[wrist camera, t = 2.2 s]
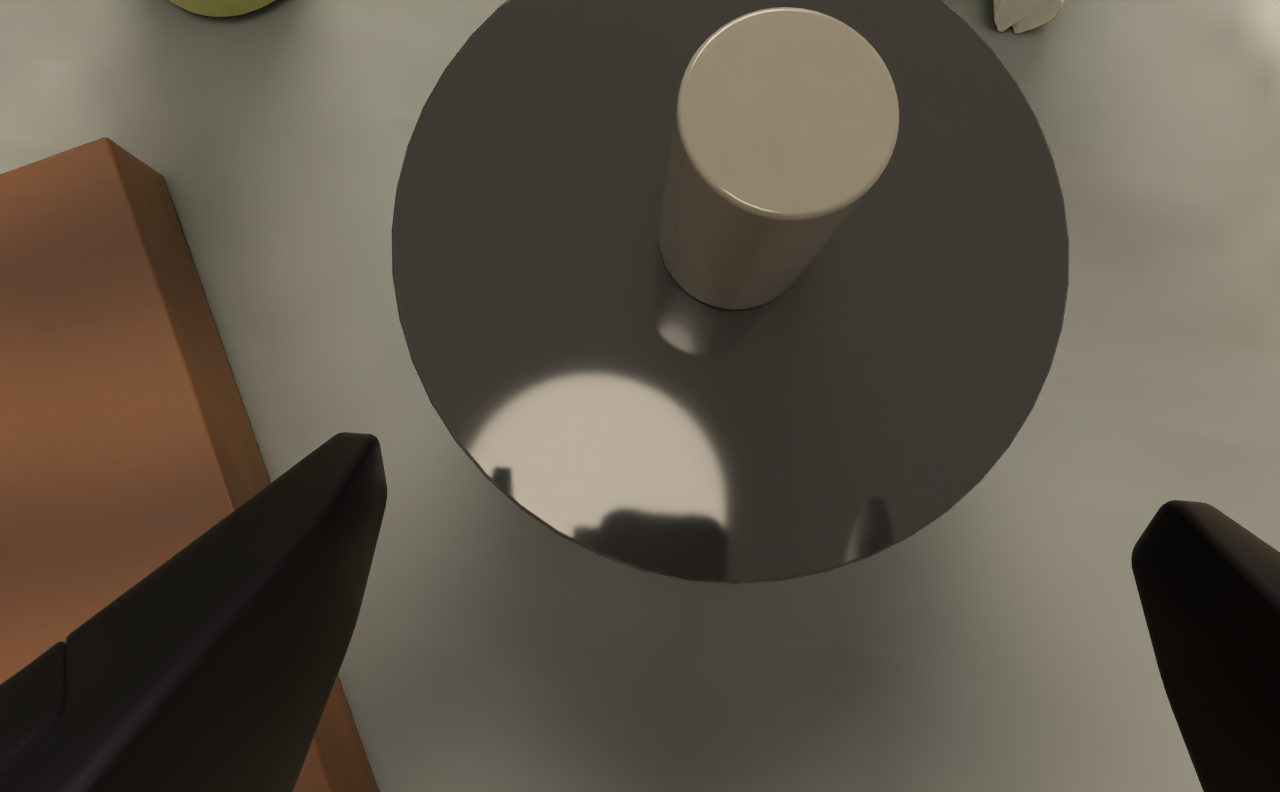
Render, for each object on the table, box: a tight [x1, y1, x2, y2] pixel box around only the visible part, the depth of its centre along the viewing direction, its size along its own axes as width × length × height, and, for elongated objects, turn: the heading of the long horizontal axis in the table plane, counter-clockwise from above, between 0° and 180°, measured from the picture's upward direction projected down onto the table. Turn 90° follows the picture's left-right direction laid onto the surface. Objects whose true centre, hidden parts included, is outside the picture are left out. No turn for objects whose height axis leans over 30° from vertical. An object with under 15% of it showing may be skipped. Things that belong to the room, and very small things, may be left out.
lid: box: [392, 0, 1069, 584], centre depth 13 cm, size 13×13×6 cm
